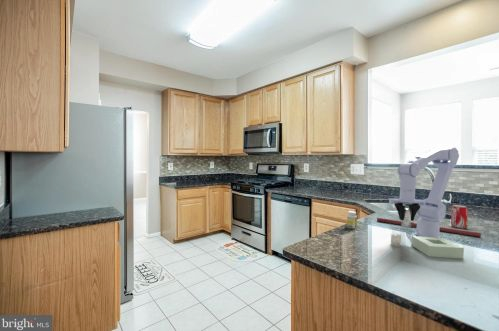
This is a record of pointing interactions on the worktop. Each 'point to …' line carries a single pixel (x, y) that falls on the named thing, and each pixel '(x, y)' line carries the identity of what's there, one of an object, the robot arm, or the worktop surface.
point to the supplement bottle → (351, 219)
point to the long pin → (407, 218)
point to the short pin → (396, 240)
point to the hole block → (437, 247)
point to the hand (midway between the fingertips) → (406, 220)
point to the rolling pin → (445, 229)
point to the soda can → (459, 216)
